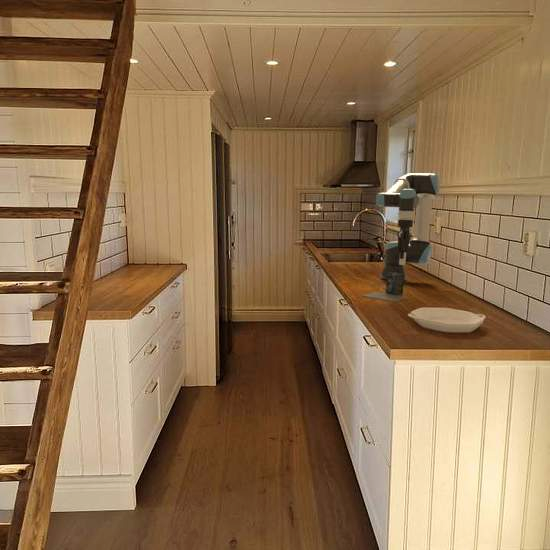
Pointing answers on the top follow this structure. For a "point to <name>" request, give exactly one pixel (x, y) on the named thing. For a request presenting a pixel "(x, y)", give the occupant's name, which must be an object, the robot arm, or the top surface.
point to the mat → (385, 296)
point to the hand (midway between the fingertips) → (402, 264)
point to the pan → (447, 319)
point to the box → (394, 283)
